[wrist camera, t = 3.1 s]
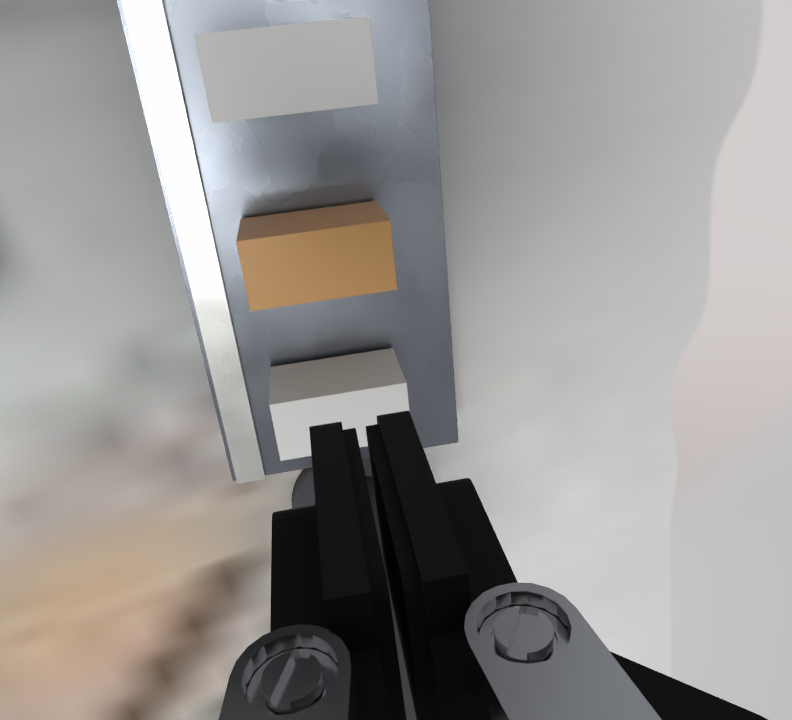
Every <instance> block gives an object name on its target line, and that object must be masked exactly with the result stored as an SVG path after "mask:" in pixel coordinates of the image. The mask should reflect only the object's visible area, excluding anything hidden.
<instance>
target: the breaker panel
mask: <svg viewBox="0 0 792 720" xmlns="http://www.w3.org/2000/svg"><path fill="white" fill-rule="evenodd" d="M117 4H118V8H119V12H120V16H121V20H122V24H123V28H124V33H125V37H126V41H127V45H128V49H129V53H130V57H131V61H132V66H133V70H134V74H135V78H136V82H137V86H138V90H139V95H140V99H141V103H142V107H143V111H144V115H145V119H146V123H147V128H148V132H149V136H150V140H151V144H152V148H153V152H154V156H155V161H156V165H157V169H158V173H159V177H160V181H161V185H162V190H163V194H164V198H165V202H166V206H167V210H168V214H169V218H170V223H171V227H172V231H173V235H174V239H175V243H176V247H177V251H178V256H179V260H180V264H181V268H182V272H183V276H184V280H185V285H186V289H187V293H188V297H189V301H190V305H191V309H192V313H193V318H194V322H195V326H196V330H197V334H198V338H199V342H200V346H201V351H202V355H203V359H204V363H205V367H206V371H207V375H208V380H209V384H210V388H211V392H212V396H213V400H214V404H215V408H216V413H217V417H218V421H219V425H220V429H221V433H222V437H223V441H224V446H225V450H226V454H227V458H228V462H229V466H230V470H231V474H232V479H233V481H235V480H237V484H240V483H246V482H252V481H258V480H264V479H265V477H266V475H270V474H276V473H281V472H287V471H293V470H299V469H305V468H311V467H312V456H307V457H301V458H295V459H290V460H284V461H280V456H279V451H278V446H277V441H276V436H275V431H274V426H273V421H272V416H271V411H270V406H269V387H270V367H274V366H280V365H287V364H293V363H300V362H306V361H312V360H319V359H325V358H332V357H338V356H344V355H351V354H357V353H364V352H370V351H377V350H383V349H389V348H393V349H394V352H395V354H396V357H397V359H398V362H399V365H400V367H401V370H402V372H403V375H404V377H405V380H406V382H407V391H408V401H409V411H410V414H411V417H412V420H413V422H414V425H415V428H416V431H417V433H418V436H419V439H420V442H421V444H422V447H423V448H427V447H433V446H438V445H444V444H450V443H456V442H458V429H457V414H456V400H455V385H454V370H453V355H452V341H451V326H450V311H449V296H448V281H447V267H446V252H445V237H444V222H443V207H442V193H441V178H440V163H439V148H438V134H437V119H436V104H435V89H434V74H433V60H432V45H431V30H430V15H429V0H117ZM363 16H369V17H370V27H371V37H372V47H373V57H374V66H375V76H376V86H377V96H378V104H372V105H364V106H355V107H347V108H338V109H330V110H321V111H313V112H304V113H296V114H287V115H279V116H271V117H262V118H254V119H245V120H237V121H228V122H220V123H212V120H211V115H210V110H209V105H208V100H207V95H206V90H205V85H204V81H203V76H202V71H201V66H200V61H199V56H198V51H197V46H196V41H195V36H194V34H200V33H210V32H219V31H229V30H238V29H248V28H258V27H267V26H277V25H286V24H296V23H305V22H315V21H325V20H334V19H344V18H353V17H363ZM370 201H378V203H379V204H380V206H381V207H382V209H383V210H384V212H385V213H386V215H387V216H388V218H389V219H390V224H391V234H392V244H393V253H394V263H395V273H396V283H397V290H392V291H385V292H378V293H371V294H364V295H358V296H351V297H344V298H337V299H330V300H323V301H317V302H310V303H303V304H296V305H289V306H283V307H276V308H269V309H262V310H255V311H250V308H249V303H248V298H247V293H246V288H245V283H244V278H243V273H242V268H241V263H240V258H239V253H238V248H237V243H236V239H237V234H238V229H239V224H240V219H242V218H250V217H257V216H265V215H273V214H280V213H288V212H295V211H303V210H310V209H318V208H325V207H333V206H340V205H348V204H355V203H363V202H370ZM360 452H361V457H362V459H363V458H369V450H368V446H366V447H360Z"/></svg>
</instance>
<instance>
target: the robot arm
mask: <svg viewBox="0 0 792 720" xmlns="http://www.w3.org/2000/svg"><path fill="white" fill-rule="evenodd" d="M309 431H310V443H311V455H312V467H313V479H314V491H315V503H316V505H312V506H306V507H301V508H295V509H289V510H284V511H278V512H273V514H272V561H271V632H270V633H268V634H265V635H263V636H262V637H260V638H259V639H258V640H256V641H255V642H254V643H252V644H251V645H250V646H248V647H247V649H246V650H245V651H244V652H243V653H242V655H241V656H240V657H239V658H238V660H237V661H236V663H235V665H234V668H233V670H232V672H231V675H230V677H229V681H228V685H227V689H226V693H225V697H224V701H223V705H222V709H221V713H220V717H219V720H406V712H405V705H404V698H403V690H402V683H401V675H400V668H399V660H398V653H397V646H396V638H395V631H394V623H393V616H392V608H391V602H390V595H391V600H392V605H393V610H394V614H395V619H396V624H397V629H398V634H399V639H400V643H401V648H402V653H403V658H404V663H405V667H406V672H407V677H408V682H409V687H410V691H411V696H412V701H413V706H414V711H415V716H416V720H767V719H765V718H764V717H762V716H760V715H757V714H755V713H753V712H750V711H748V710H746V709H744V708H741V707H739V706H737V705H734V704H732V703H729V702H727V701H725V700H722V699H720V698H718V697H715V696H713V695H711V694H708V693H706V692H704V691H701V690H699V689H696V688H694V687H692V686H690V685H687V684H685V683H682V682H680V681H678V680H675V679H673V678H671V677H668V676H666V675H664V674H661V673H659V672H657V671H654V670H652V669H650V668H647V667H645V666H643V665H640V664H638V663H636V662H633V661H631V660H629V659H626V658H624V657H622V656H619V655H617V654H615V653H612V652H610V651H609V650H608V649H607V647H606V646H605V645H604V644H603V642H602V641H601V640H600V638H599V637H598V636H597V634H596V633H595V632H594V630H593V629H592V628H591V627H590V625H589V624H588V623H587V621H586V620H585V619H584V617H583V616H582V615H581V613H580V612H579V611H578V610H577V608H576V607H575V606H574V605H573V604H572V603H571V602H570V601H569V600H568V599H567V598H566V597H565V596H563V595H561V594H559V593H557V592H556V591H554V590H552V589H550V588H547V587H544V586H540V585H536V584H533V583H518V582H517V580H516V578H515V576H514V573H513V571H512V569H511V567H510V565H509V562H508V560H507V558H506V556H505V554H504V551H503V549H502V547H501V545H500V543H499V540H498V538H497V536H496V534H495V532H494V529H493V527H492V525H491V523H490V521H489V518H488V516H487V514H486V512H485V509H484V507H483V505H482V503H481V501H480V498H479V496H478V494H477V492H476V490H475V487H474V485H473V483H472V482H471V480H470V479H469V478H465V479H460V480H454V481H448V482H443V483H437V484H436V482H435V480H434V477H433V474H432V471H431V469H430V466H429V463H428V461H427V458H426V455H425V452H424V450H423V447H422V444H421V442H420V439H419V436H418V433H417V431H416V428H415V425H414V422H413V420H412V417H411V414H410V412H409V411H402V412H396V413H390V414H384V415H378V416H377V424H375V425H369V426H366V435H367V442H368V450H369V457H370V464H371V472H372V479H373V486H374V494H375V501H376V509H377V516H378V523H379V531H380V538H381V545H382V553H383V558H382V553H381V548H380V544H379V539H378V534H377V529H376V524H375V519H374V515H373V510H372V505H371V500H370V495H369V490H368V486H367V481H366V476H365V471H364V466H363V461H362V457H361V452H360V447H359V442H358V437H357V432H356V428H351V429H345V430H343V428H342V422H335V423H329V424H323V425H317V426H311V427H309ZM383 559H384V563H383ZM384 565H385V568H384ZM385 571H386V573H385ZM386 576H387V578H386ZM387 581H388V583H387ZM388 586H389V589H388ZM389 590H390V595H389Z"/></svg>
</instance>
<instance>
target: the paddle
mask: <svg viewBox="0 0 792 720" xmlns="http://www.w3.org/2000/svg"><path fill="white" fill-rule="evenodd" d="M194 36H195V41H196V46H197V51H198V56H199V61H200V66H201V71H202V76H203V81H204V85H205V90H206V95H207V100H208V105H209V110H210V115H211V120H212V123H220V122H228V121H237V120H245V119H254V118H262V117H271V116H279V115H287V114H296V113H304V112H313V111H321V110H330V109H338V108H347V107H355V106H364V105H372V104H378V96H377V86H376V76H375V66H374V57H373V47H372V37H371V27H370V17H369V16H363V17H353V18H344V19H334V20H325V21H315V22H305V23H296V24H286V25H277V26H267V27H258V28H248V29H238V30H229V31H219V32H210V33H200V34H194Z"/></svg>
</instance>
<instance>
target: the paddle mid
mask: <svg viewBox="0 0 792 720" xmlns="http://www.w3.org/2000/svg"><path fill="white" fill-rule="evenodd" d="M236 243H237V248H238V253H239V258H240V263H241V268H242V273H243V278H244V283H245V288H246V293H247V298H248V303H249V308H250V311H255V310H262V309H269V308H276V307H283V306H289V305H296V304H303V303H310V302H317V301H323V300H330V299H337V298H344V297H351V296H358V295H364V294H371V293H378V292H385V291H392V290H397V283H396V273H395V263H394V253H393V244H392V234H391V224H390V219H389V218H388V216H387V215H386V213H385V212H384V210H383V209H382V207H381V206H380V204H379V203H378V201H370V202H363V203H355V204H348V205H340V206H333V207H325V208H318V209H310V210H303V211H295V212H288V213H280V214H273V215H265V216H257V217H250V218H242V219H240V224H239V229H238V234H237V239H236Z"/></svg>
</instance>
